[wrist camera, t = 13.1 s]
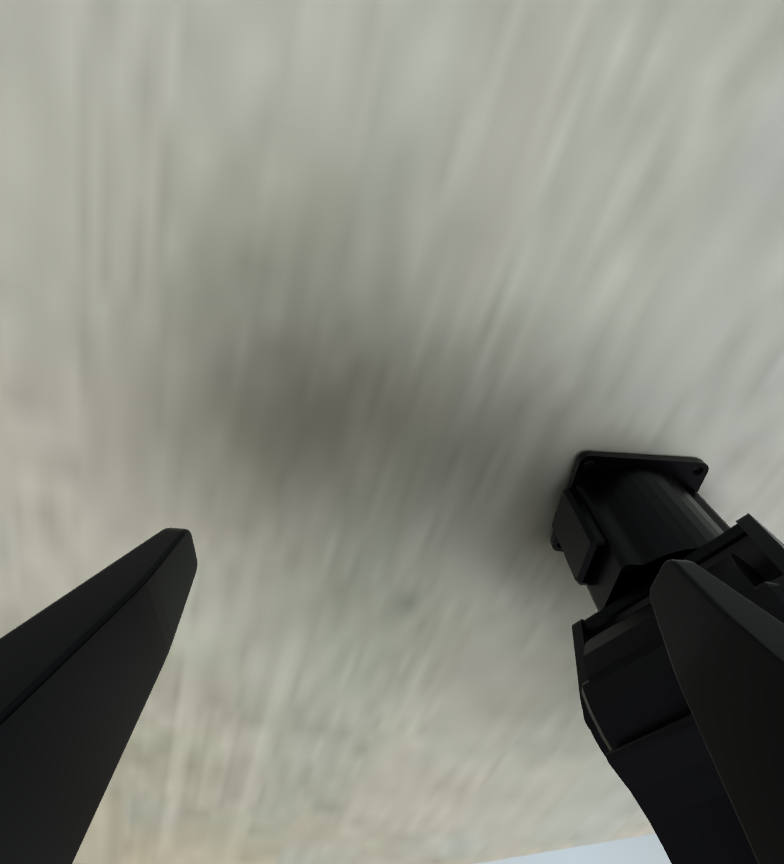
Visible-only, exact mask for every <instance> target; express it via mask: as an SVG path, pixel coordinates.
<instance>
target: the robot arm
mask: <svg viewBox="0 0 784 864" xmlns="http://www.w3.org/2000/svg"><path fill="white" fill-rule="evenodd" d="M587 460H591V461H590V462H589V463H588V464H584V463H585V462H586V461H587ZM697 467H698V468H697ZM695 468H697V469H696V470H694V469H695ZM708 469H709V468H708V465H706V464H705V463H704V462H703V461H702V460H701V459H697V458H682V457H666V456H651V455H636V454H620V453H605V452H584V453H581V454H580V455H579V456H578V457H577V459H576V462H575V465H574V468H573V471H572V474H571V478H570V481H569V484H568V487H567V488H565V489H564V491H563V492H562V495H561V499H560V502H559V505H558V508H557V511H556V514H555V517H554V520H553V524H552V527H553V529H554V530H553V533H552V536H551V539H550V542H551V545H552V547H553V549H554V550H556V551H562V552H564V555H565V557H566V559H567V562H568V564H569V566H570V569H571V571H572V573H573V576H574V578H575V580H576V581H577V582H578V584H579V585H587V588H588V590H589V592H590V594H591V596H592V599H593V601H594V603H595V605H596V608H597V610H598V612H597V613H595V614H594V615H592V616H590V617H589V618H587V619H586V620H583V619H581V620H580V621H578V622H577V623H575V624H573V625H572V631H573V640H574V648H575V657H576V666H577V674H578V683H579V692H580V699H581V704H582V709H583V715H584V720H585V722H586V724H587V726H588V727H589V729H590V730H591V732H592V734H593V736H594V738H595V740H596V742H597V743H598V745H599V747H600V749H601V751H602V752H603V753H604V755H605V756H606V758H607V760H608V762H609V764H610V765H611V767H612V768H613V769H614V770H615V772H616V773H617V774H618V776H619V777H620V778H621V780H622V781H623V782H624V784H625V785H626V786H627V787H628V789H629V790H630V791H631V793H632V795H633V796H634V798H635V799H636V801H637V802H638V804H639V806H640V807H641V809H642V810H643V812H644V814H645V815H646V817H647V818H648V820H649V822H650V823H651V825H652V827H653V829H654V831H655V833H656V834H657V836H658V838H659V840H660V842H661V844H662V845H663V847H664V849H665V851H666V853H667V855H668V857H669V859H670V861H671V863H672V864H784V544H783V543H782V542H781V541H780V540H778V539H777V538H776V537H775V536H774V535H773V534H772V533H770V532H769V531H768V530H767V529H766V528H765V527H764V526H763V525H761V524H760V523H759V522H758V521H757V520H756V519H755V518H754V517H752V516H751V515H750V514H749V513H748V514H747V515H745V516H743V517H742V518H740V519H739V520H737V521H736V522H737V523H738V524H736V525H734V526H733V527H731V528H730V527H729V526H728V525H727V524H726V523H725V522H724V521H723V520H722V519H721V517H720V516H719V515H718V514H717V513H716V512H715V511H714V510H713V509H712V508H711V507H710V506H709V505H708V504H707V503H706V502H705V500H704V499H703V498H702V497H701V496H700V495H699V494H698V493H697V492H698V490H699V488H700V486H701V484H702V482H703V480H704V478H705V476H706V474H707V472H708ZM693 470H694V471H693ZM196 570H197V557H196V553H195V548H194V544H193V539H192V535H191V533H190V531H189V530H187V529H179V528H166V529H164V530H162V531H160V532H159V533H157V534H156V535H154V536H153V537H151V538H150V539H148V540H147V541H145V542H144V543H142V544H141V545H139V546H138V547H136V548H135V549H133V550H132V551H130V552H129V553H127V554H126V555H124V556H123V557H121V558H120V559H118V560H117V561H115V562H114V563H112V564H111V565H109V566H108V567H106V568H105V569H103V570H102V571H100V572H99V573H97V574H96V575H94V576H93V577H91V578H90V579H88V580H87V581H85V582H84V583H82V584H81V585H79V586H78V587H76V588H75V589H74V590H72V591H71V592H69V593H68V594H66V595H65V596H63V597H62V598H60V599H59V600H57V601H56V602H54V603H53V604H51V605H50V606H48V607H47V608H45V609H44V610H42V611H41V612H39V613H38V614H36V615H35V616H33V617H32V618H30V619H29V620H27V621H26V622H24V623H23V624H21V625H20V626H18V627H17V628H15V629H14V630H12V631H11V632H9V633H8V634H6V635H5V636H3V637H2V638H0V864H72V863H73V860H74V858H75V856H76V854H77V852H78V850H79V847H80V845H81V843H82V841H83V839H84V837H85V834H86V832H87V830H88V828H89V826H90V823H91V821H92V819H93V817H94V815H95V813H96V810H97V808H98V806H99V804H100V802H101V799H102V797H103V795H104V793H105V791H106V789H107V786H108V784H109V782H110V780H111V778H112V775H113V773H114V771H115V769H116V767H117V765H118V762H119V760H120V758H121V756H122V754H123V752H124V749H125V747H126V745H127V743H128V741H129V738H130V736H131V734H132V732H133V730H134V728H135V725H136V723H137V721H138V719H139V717H140V714H141V712H142V710H143V708H144V706H145V704H146V701H147V699H148V697H149V695H150V693H151V691H152V688H153V686H154V684H155V682H156V680H157V677H158V675H159V673H160V671H161V669H162V667H163V664H164V662H165V660H166V657H167V655H168V653H169V650H170V647H171V644H172V642H173V639H174V636H175V633H176V630H177V627H178V624H179V621H180V618H181V615H182V612H183V609H184V606H185V603H186V601H187V598H188V595H189V592H190V589H191V586H192V583H193V580H194V577H195V574H196Z"/></svg>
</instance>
